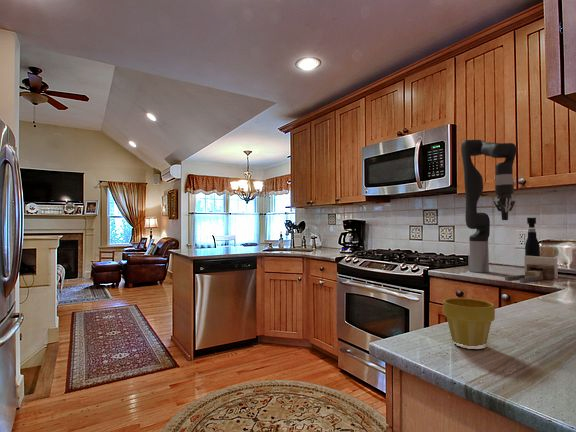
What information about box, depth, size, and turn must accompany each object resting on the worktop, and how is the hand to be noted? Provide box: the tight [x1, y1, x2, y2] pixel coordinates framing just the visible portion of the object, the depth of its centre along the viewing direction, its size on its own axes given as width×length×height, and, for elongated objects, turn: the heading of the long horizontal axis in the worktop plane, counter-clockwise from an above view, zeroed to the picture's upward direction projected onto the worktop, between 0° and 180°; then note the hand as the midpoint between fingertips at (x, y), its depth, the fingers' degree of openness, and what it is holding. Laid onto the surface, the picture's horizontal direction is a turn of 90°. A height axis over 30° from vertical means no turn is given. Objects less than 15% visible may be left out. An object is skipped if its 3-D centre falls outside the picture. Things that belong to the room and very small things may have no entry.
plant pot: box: [442, 297, 496, 346], centre depth 77 cm, size 10×10×10 cm
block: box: [527, 264, 554, 280], centre depth 166 cm, size 9×6×6 cm, turn 24°
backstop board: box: [523, 255, 559, 280], centre depth 170 cm, size 14×2×10 cm, turn 24°
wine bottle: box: [524, 217, 541, 257], centre depth 179 cm, size 6×6×30 cm
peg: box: [524, 270, 544, 281], centre depth 164 cm, size 12×4×4 cm, turn 115°
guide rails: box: [504, 274, 541, 284], centre depth 160 cm, size 8×14×2 cm, turn 114°
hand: (504, 220), depth 162 cm, fingers closed
